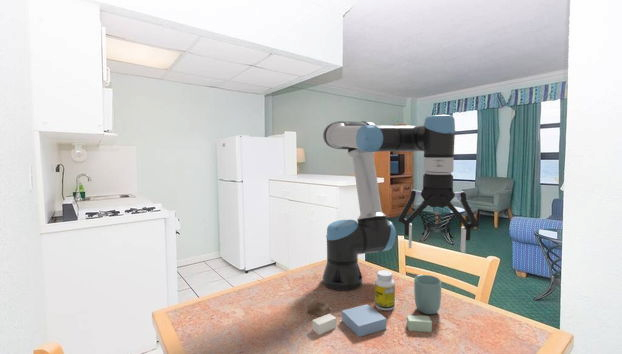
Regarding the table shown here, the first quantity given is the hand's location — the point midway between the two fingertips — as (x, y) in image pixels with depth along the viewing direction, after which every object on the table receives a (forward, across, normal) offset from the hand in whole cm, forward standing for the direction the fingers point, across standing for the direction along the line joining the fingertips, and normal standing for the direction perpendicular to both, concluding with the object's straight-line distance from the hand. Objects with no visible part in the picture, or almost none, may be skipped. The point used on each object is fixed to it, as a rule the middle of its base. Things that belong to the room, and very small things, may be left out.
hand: (435, 249), depth 83 cm
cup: (+22, -1, +7) cm, 24 cm away
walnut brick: (+23, -33, -4) cm, 40 cm away
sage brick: (+22, -4, -3) cm, 23 cm away
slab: (+22, -19, -6) cm, 30 cm away
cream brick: (+22, -29, -11) cm, 38 cm away
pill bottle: (+22, -14, +7) cm, 27 cm away
